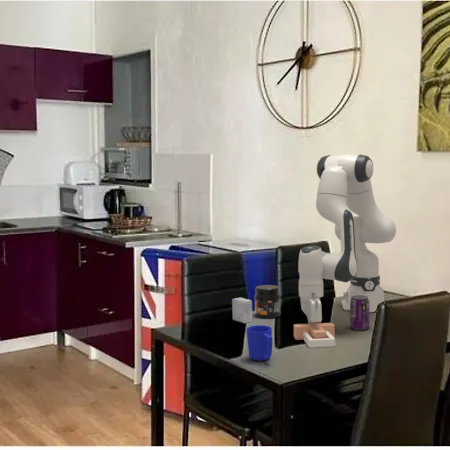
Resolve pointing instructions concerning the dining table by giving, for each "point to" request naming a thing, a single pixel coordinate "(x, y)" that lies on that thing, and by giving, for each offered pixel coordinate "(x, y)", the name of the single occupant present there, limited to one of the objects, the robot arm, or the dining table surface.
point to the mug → (259, 342)
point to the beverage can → (359, 312)
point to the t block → (314, 330)
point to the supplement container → (267, 301)
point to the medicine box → (242, 310)
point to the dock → (319, 340)
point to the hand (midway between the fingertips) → (311, 328)
